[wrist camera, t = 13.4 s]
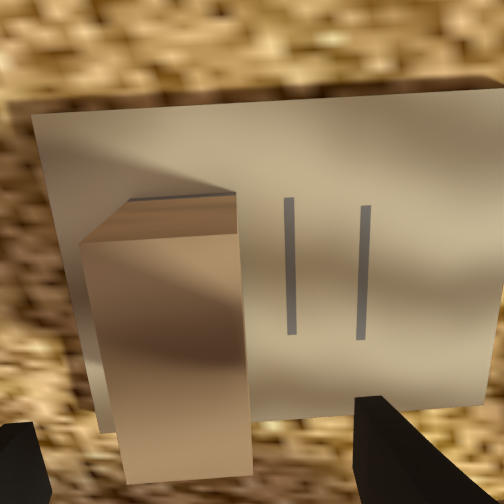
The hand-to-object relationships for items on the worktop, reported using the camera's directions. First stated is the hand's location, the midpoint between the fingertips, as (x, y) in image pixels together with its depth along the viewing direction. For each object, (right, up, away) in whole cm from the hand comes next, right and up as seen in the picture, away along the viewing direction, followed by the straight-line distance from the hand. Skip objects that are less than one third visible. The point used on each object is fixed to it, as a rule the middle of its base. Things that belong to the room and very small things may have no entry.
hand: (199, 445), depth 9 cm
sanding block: (-1, +3, +8) cm, 8 cm away
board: (+3, +4, +9) cm, 10 cm away
